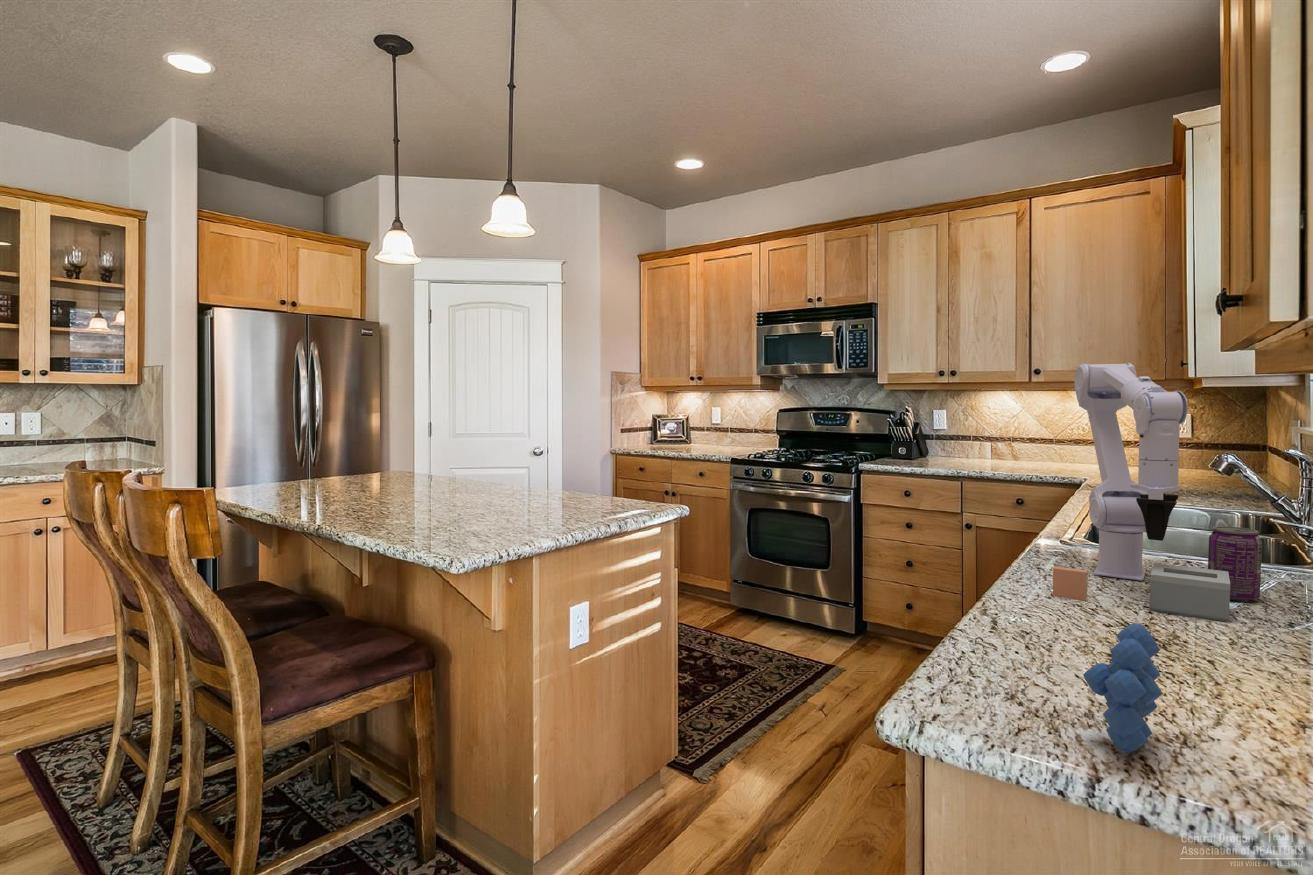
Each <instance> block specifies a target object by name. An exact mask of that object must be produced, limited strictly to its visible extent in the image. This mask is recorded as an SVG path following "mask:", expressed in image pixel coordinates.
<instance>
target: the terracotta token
mask: <svg viewBox="0 0 1313 875" xmlns="http://www.w3.org/2000/svg"><path fill="white" fill-rule="evenodd" d="M1052 569H1053V570H1052V597H1055V598H1062V597H1063V598H1062V599H1069V600H1076V601H1082V602H1083V601H1084V602H1086V601H1087V599H1088V583H1089V582H1088V581H1089V580H1088V578H1089V575H1088V574H1089V571H1088V570H1087V569H1079V568H1072V567H1065V566H1055V565H1054V567H1053V568H1052Z"/></svg>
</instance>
